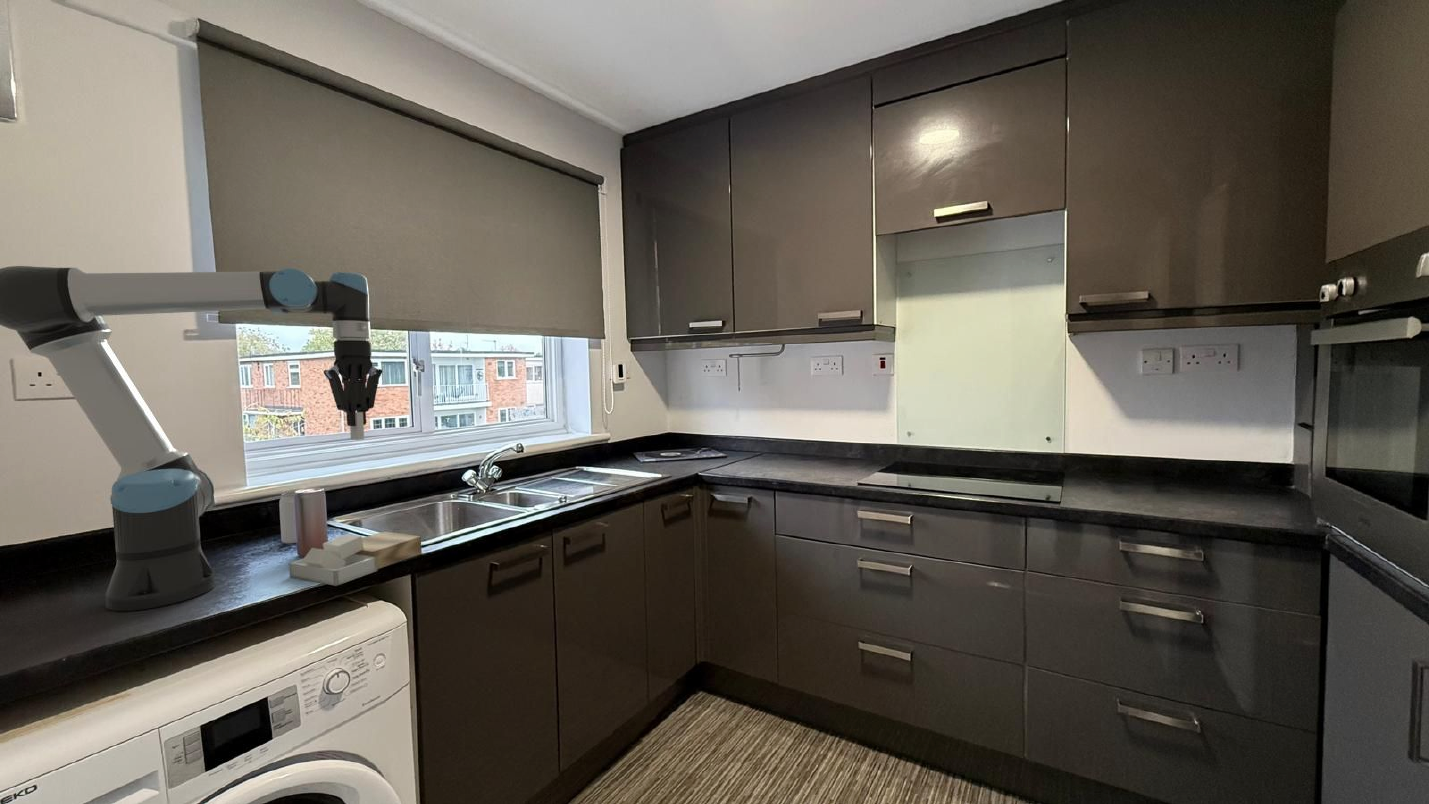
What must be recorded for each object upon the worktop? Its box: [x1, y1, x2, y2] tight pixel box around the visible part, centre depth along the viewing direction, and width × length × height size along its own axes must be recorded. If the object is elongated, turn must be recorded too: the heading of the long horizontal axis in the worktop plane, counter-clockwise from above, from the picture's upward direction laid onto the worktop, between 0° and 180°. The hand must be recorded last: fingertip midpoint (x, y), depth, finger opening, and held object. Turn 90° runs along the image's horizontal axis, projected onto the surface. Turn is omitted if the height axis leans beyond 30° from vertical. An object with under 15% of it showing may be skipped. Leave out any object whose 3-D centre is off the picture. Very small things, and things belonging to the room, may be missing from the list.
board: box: [355, 531, 423, 570], centre depth 132 cm, size 12×12×4 cm
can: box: [278, 491, 297, 545], centre depth 147 cm, size 6×6×12 cm
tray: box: [288, 554, 378, 587], centre depth 122 cm, size 9×14×3 cm, turn 68°
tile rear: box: [323, 533, 364, 559], centre depth 124 cm, size 5×5×3 cm
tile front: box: [302, 548, 346, 570], centre depth 120 cm, size 5×5×3 cm
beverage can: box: [294, 487, 329, 559], centre depth 135 cm, size 6×6×15 cm
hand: (357, 439), depth 139 cm, fingers closed
